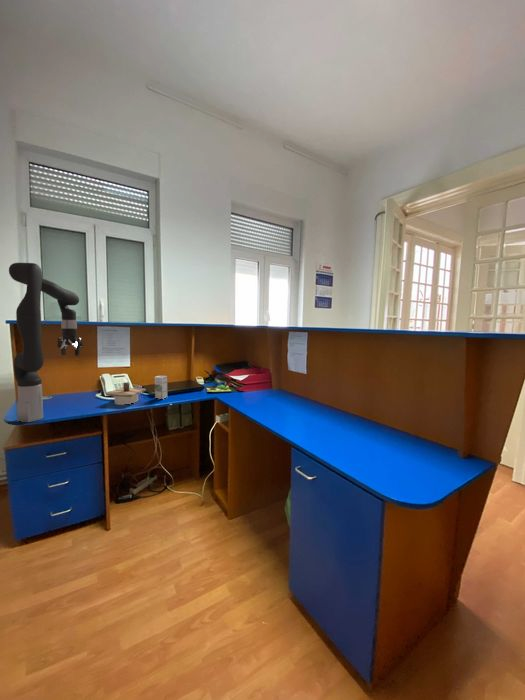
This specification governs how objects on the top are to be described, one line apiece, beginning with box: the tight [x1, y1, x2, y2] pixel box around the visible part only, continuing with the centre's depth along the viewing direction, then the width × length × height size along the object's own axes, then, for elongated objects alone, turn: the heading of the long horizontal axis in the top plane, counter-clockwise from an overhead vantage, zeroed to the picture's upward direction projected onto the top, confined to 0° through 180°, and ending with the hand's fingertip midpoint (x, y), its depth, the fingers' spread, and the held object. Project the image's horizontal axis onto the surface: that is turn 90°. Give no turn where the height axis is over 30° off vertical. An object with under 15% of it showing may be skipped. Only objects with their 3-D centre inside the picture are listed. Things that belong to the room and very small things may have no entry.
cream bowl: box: [113, 394, 140, 406], centre depth 178 cm, size 13×13×6 cm
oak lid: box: [105, 381, 147, 397], centre depth 177 cm, size 16×16×6 cm
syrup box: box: [154, 375, 168, 400], centre depth 187 cm, size 6×6×14 cm
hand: (70, 355), depth 172 cm, fingers open, 8 cm apart
